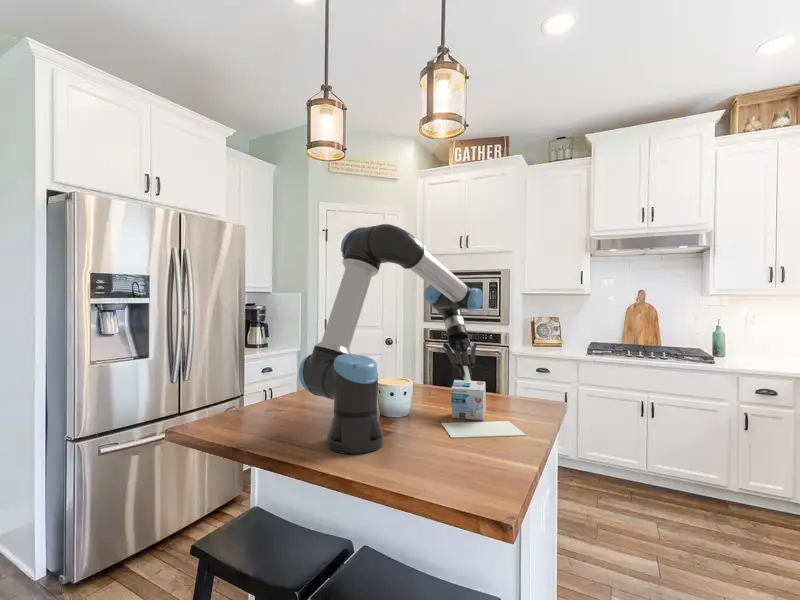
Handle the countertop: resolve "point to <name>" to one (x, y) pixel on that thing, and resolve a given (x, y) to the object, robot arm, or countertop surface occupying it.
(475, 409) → the light bulb box
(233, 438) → the countertop surface
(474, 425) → the board
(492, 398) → the countertop surface
